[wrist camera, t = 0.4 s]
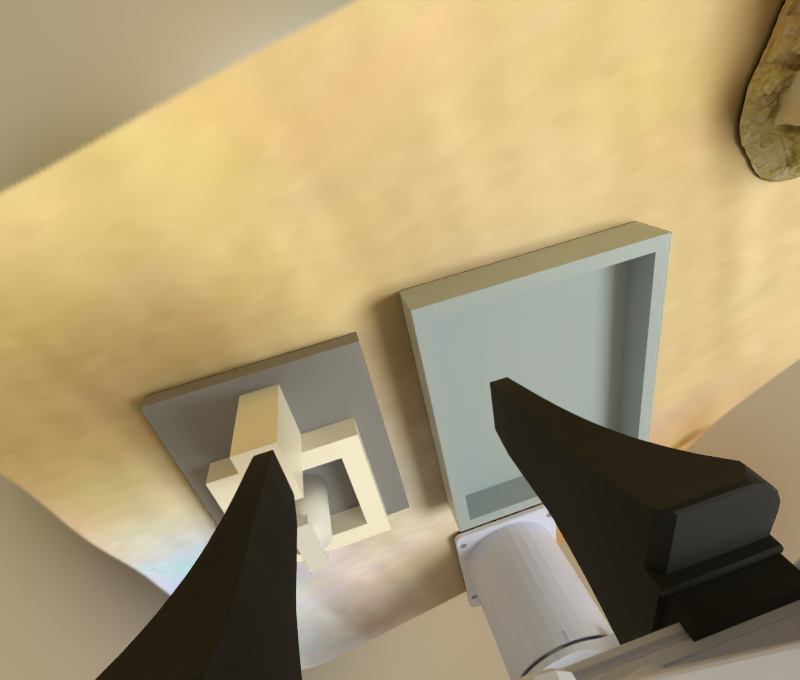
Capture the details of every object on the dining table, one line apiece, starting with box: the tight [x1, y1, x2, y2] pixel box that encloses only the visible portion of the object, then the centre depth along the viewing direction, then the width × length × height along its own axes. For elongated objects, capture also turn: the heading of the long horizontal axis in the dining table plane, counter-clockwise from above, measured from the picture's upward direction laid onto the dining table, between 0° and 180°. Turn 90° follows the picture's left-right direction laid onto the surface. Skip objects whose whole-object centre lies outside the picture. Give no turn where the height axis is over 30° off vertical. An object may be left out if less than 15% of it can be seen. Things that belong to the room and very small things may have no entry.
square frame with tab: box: [206, 384, 391, 562], centre depth 23 cm, size 12×8×4 cm
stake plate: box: [139, 333, 409, 573], centre depth 23 cm, size 13×11×5 cm
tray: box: [399, 221, 672, 532], centre depth 26 cm, size 17×14×2 cm
